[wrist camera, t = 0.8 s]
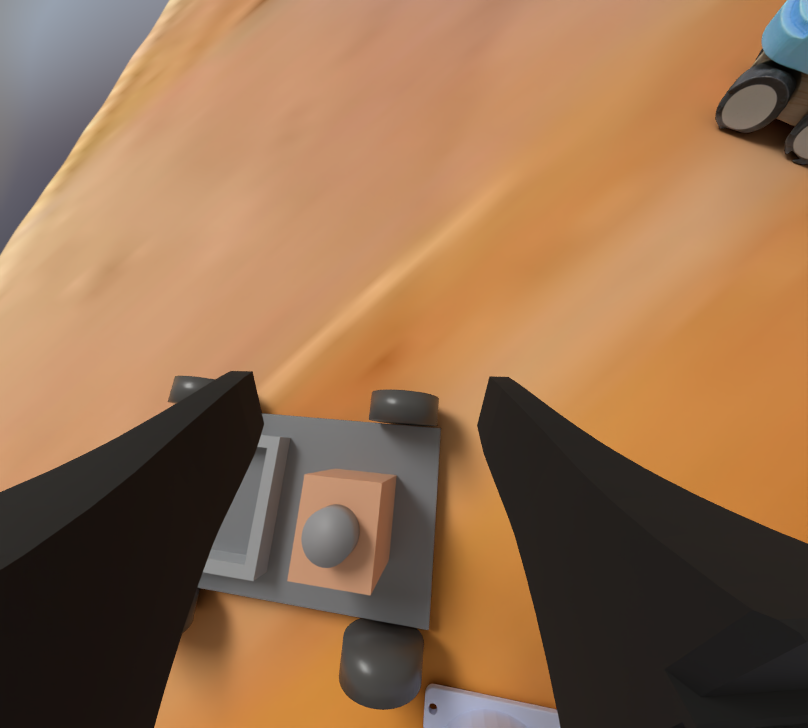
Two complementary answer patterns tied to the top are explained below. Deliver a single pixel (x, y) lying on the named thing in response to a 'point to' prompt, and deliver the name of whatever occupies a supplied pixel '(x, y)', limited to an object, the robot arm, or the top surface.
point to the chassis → (277, 517)
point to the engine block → (343, 530)
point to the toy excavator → (775, 82)
